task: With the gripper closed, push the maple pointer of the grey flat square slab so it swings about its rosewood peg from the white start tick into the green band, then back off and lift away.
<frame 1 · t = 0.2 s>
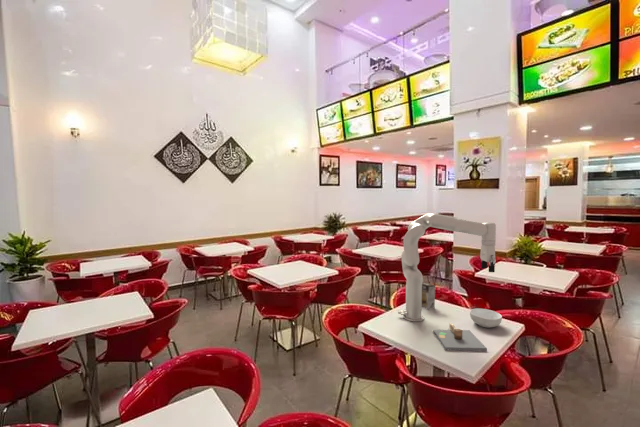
hand: (487, 270, 187), 31 cm above the table, fingers open, 9 cm apart
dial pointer: (455, 330, 166), point 4 cm above the table, hinge at 0.0°
cereal bowl: (485, 325, 181), on the table
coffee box: (426, 306, 211), on the table
grey flat square slab: (458, 341, 161), on the table
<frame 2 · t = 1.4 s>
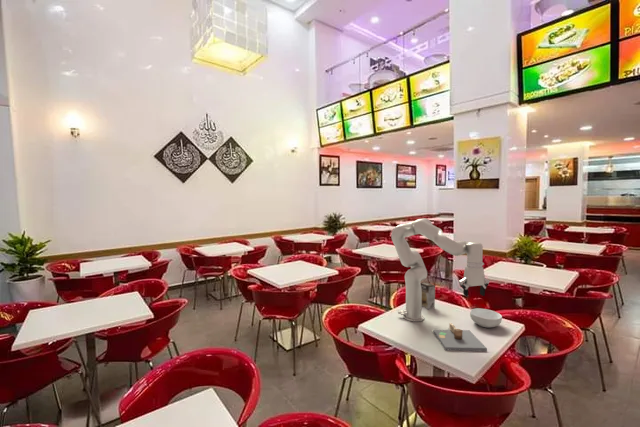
hand: (474, 295, 168), 22 cm above the table, fingers open, 9 cm apart
nothing on the table moved.
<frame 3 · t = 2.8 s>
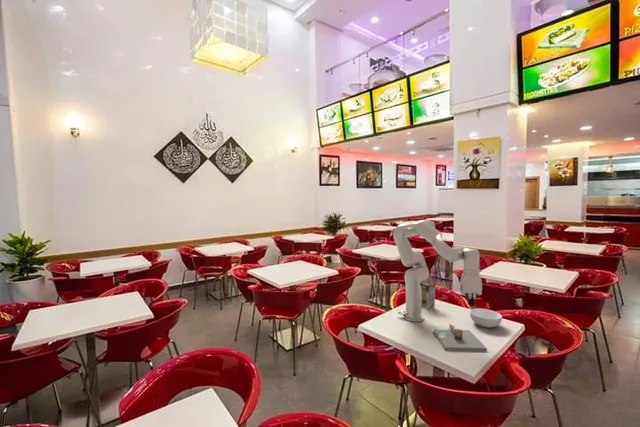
hand: (471, 305, 164), 18 cm above the table, fingers closed
nothing on the table moved.
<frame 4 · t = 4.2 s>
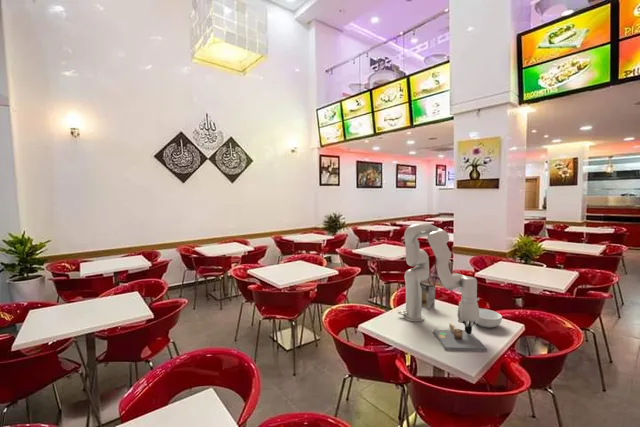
hand: (468, 332, 165), 2 cm above the table, fingers closed
nothing on the table moved.
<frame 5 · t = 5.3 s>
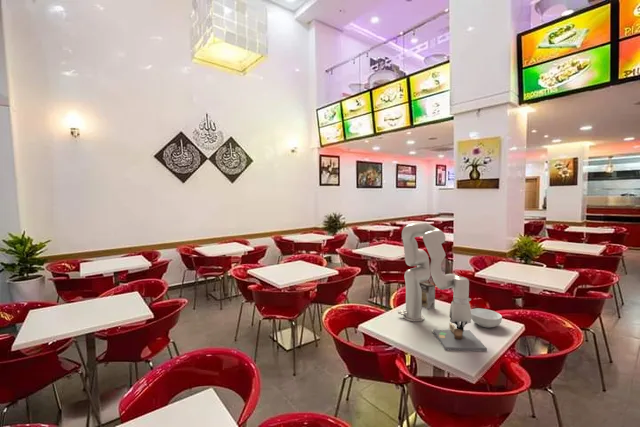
hand: (460, 333, 166), 2 cm above the table, fingers closed
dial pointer: (455, 330, 166), point 4 cm above the table, hinge at 0.0°, touching gripper
everything else where it was.
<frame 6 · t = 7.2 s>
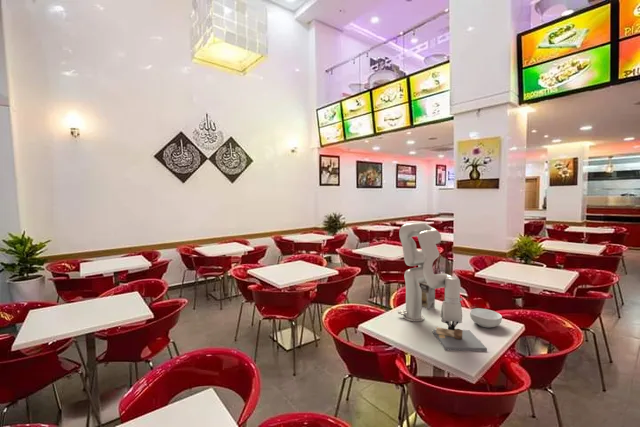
hand: (451, 332, 166), 2 cm above the table, fingers closed
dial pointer: (449, 332, 163), point 4 cm above the table, hinge at 61.5°
everything else where it was.
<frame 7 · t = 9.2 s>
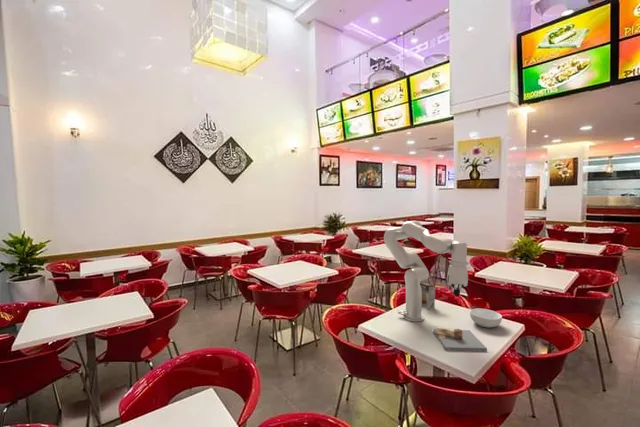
hand: (456, 295, 170), 21 cm above the table, fingers closed
nothing on the table moved.
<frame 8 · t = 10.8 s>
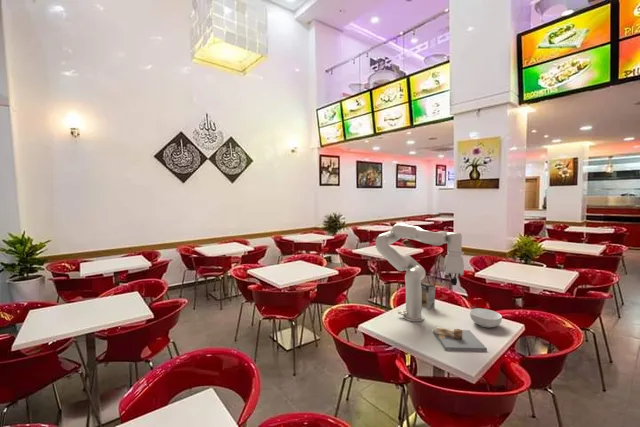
hand: (453, 284, 178), 25 cm above the table, fingers closed
nothing on the table moved.
at the end: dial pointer at +62° (first picture: +0°) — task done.
